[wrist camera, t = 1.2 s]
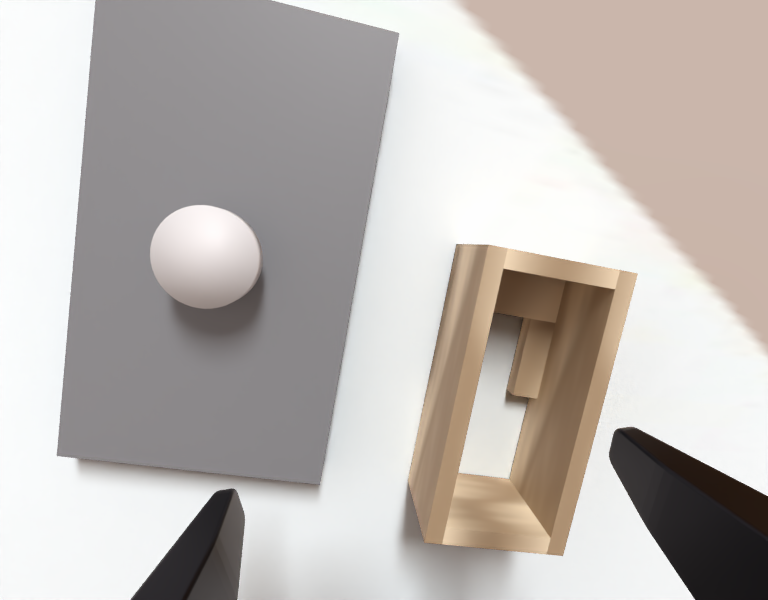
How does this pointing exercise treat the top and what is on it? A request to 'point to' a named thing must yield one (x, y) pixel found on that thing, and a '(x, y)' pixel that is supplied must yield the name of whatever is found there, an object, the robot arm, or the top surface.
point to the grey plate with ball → (219, 233)
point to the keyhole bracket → (527, 379)
